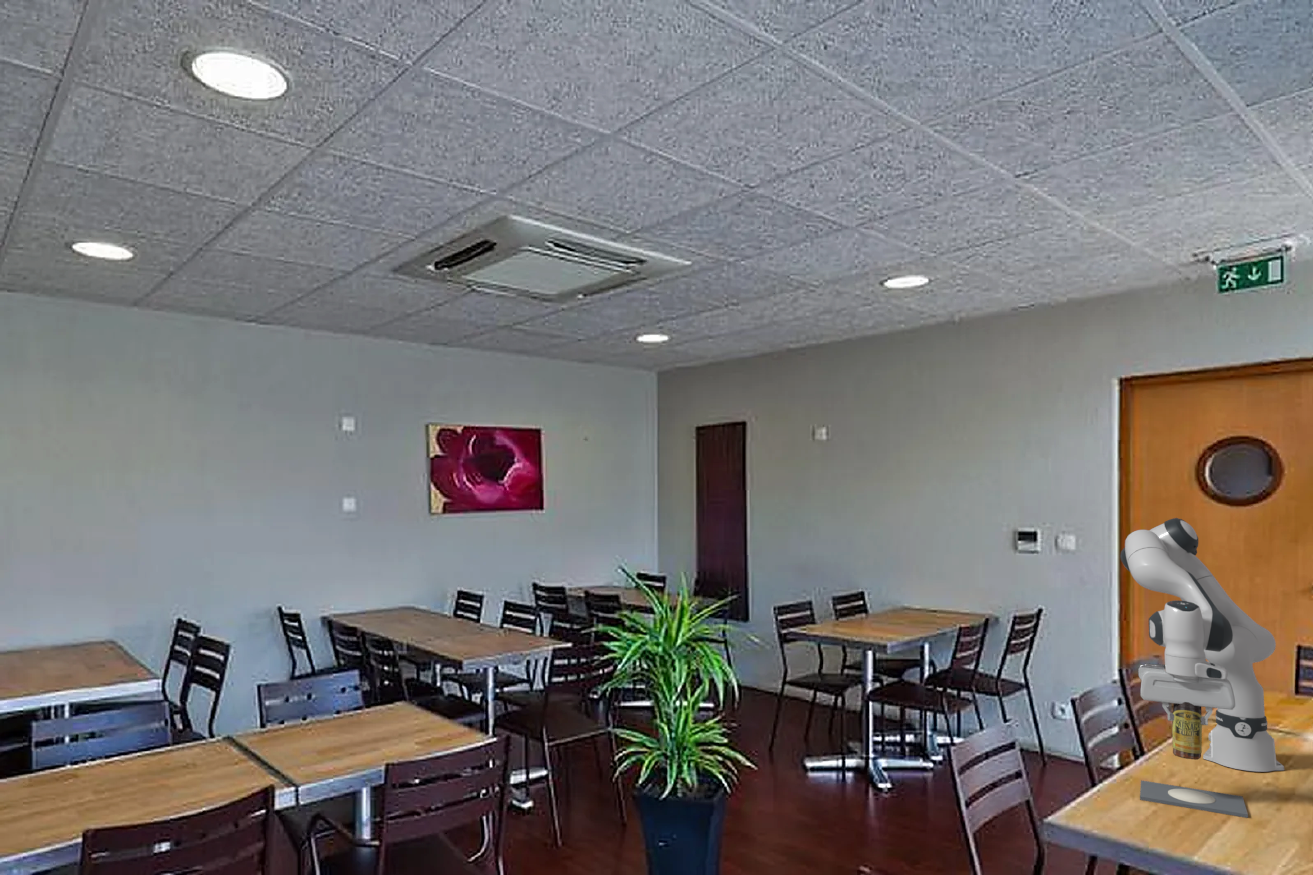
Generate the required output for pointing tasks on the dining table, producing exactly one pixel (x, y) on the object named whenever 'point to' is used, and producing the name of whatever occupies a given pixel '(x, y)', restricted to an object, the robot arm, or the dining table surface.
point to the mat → (1193, 798)
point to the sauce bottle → (1187, 731)
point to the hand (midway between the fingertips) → (1187, 722)
